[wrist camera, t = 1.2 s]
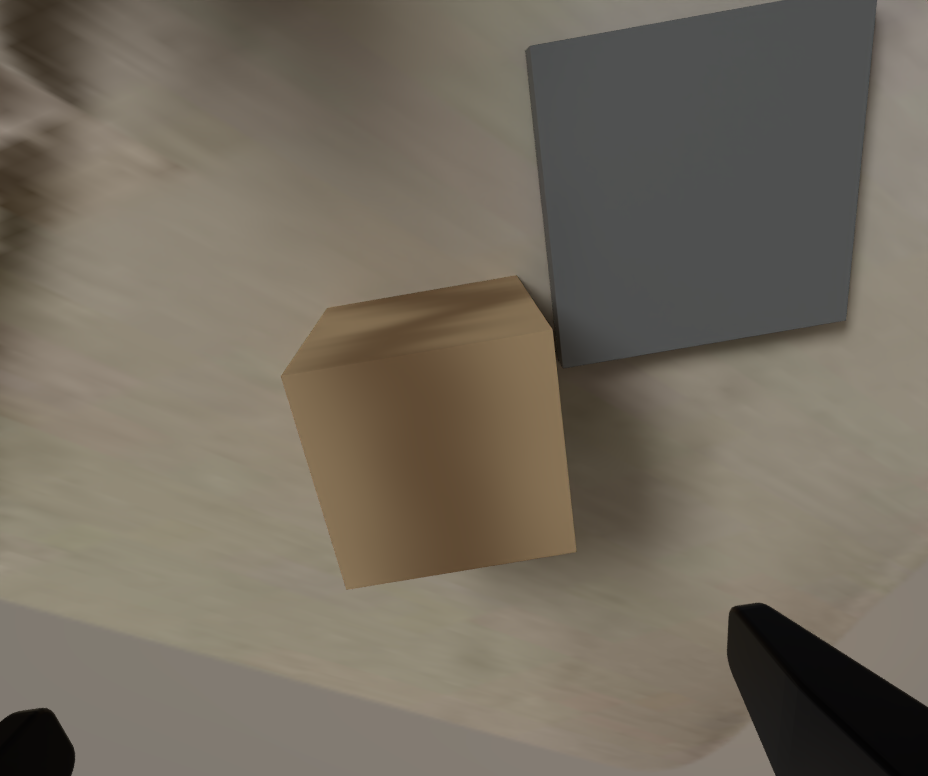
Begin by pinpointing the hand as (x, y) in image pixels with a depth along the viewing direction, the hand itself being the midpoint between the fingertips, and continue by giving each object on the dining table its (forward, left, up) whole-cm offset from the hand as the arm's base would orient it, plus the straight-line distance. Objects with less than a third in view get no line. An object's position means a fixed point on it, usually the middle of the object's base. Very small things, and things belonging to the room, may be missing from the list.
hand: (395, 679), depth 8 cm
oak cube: (-1, +1, -12) cm, 12 cm away
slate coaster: (-9, -4, -12) cm, 16 cm away
